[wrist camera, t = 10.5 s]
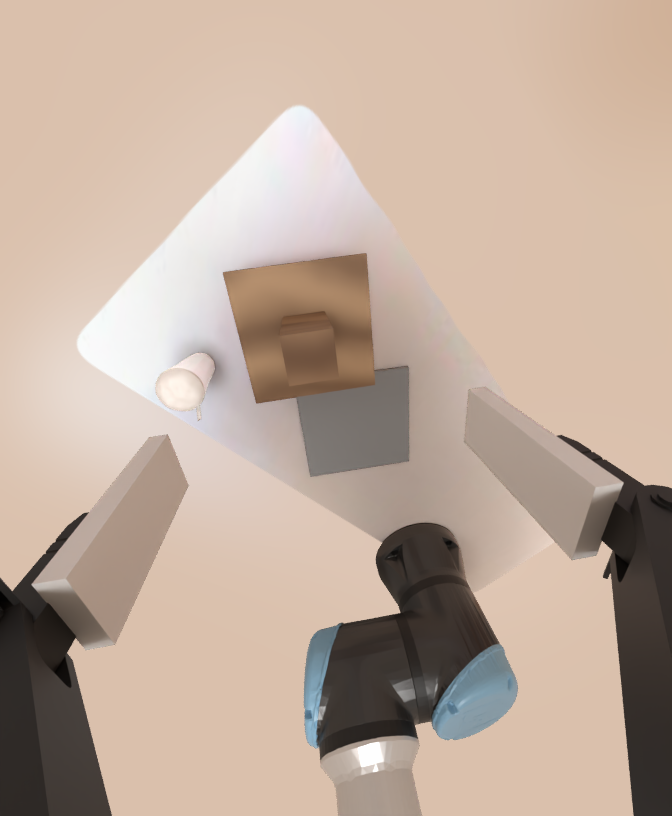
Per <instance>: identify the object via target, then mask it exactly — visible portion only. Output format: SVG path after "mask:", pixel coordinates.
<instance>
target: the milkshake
mask: <svg viewBox="0 0 672 816" xmlns="http://www.w3.org/2000/svg"><path fill="white" fill-rule="evenodd" d="M214 371H215V364H214V360H213V359H212V358H211V357H210V356H209V355H208V354H204V353H200V352H197V353H195V354H193V355H190V356H189V357H187V358H186V359H184V360H183V361H181V362H180V363H178V364H177V365H175V366H173V367H171V368H169V369H168V370H166V371H164V372H163V373H162V374H161V375H160V376H159V377H158V379H157V381H156V387H155V390H156V395H157V397H158V398H159V400H160V401H161V402H162V403H163V404H164V405H165V406H166V407H168V408H169V409H172V410H177V411H190V410H193V409H195V408H196V407H197V418H198V421H199V420H200V419H201V411H200V404H201V403H202V401H203V399H204V396H205V393H206V390H207V388H208V385H209V382H210V380H211V377H212V375H213V373H214Z"/></svg>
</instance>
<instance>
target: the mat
mask: <svg viewBox="0 0 672 816" xmlns="http://www.w3.org/2000/svg"><path fill="white" fill-rule="evenodd" d="M374 373H375V385H372V386H365V387H359V388H352V389H346V390H340V391H333V392H327V393H320V394H314V395H308V396H301V397H297V403H298V408H299V414H300V420H301V425H302V431H303V437H304V442H305V448H306V454H307V459H308V465H309V471H310V476H311V477H312V476H319V475H325V474H331V473H338V472H344V471H350V470H357V469H363V468H369V467H375V466H382V465H388V464H394V463H401V462H407V461H409V367H408V366H404V367H397V368H390V369H383V370H376V371H374Z"/></svg>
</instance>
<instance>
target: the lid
mask: <svg viewBox="0 0 672 816" xmlns="http://www.w3.org/2000/svg"><path fill="white" fill-rule="evenodd" d="M223 276H224V280H225V283H226V287H227V291H228V295H229V299H230V303H231V307H232V311H233V315H234V319H235V322H236V326H237V330H238V334H239V338H240V342H241V346H242V350H243V354H244V357H245V361H246V365H247V369H248V373H249V377H250V381H251V385H252V389H253V392H254V396H255V400H256V403H263V402H269V401H275V400H282V399H288V398H295V397H301V396H308V395H314V394H320V393H327V392H333V391H340V390H346V389H352V388H359V387H365V386H372V385H375V373H374V358H373V343H372V329H371V314H370V299H369V284H368V269H367V254H366V253H363V254H356V255H348V256H341V257H333V258H326V259H318V260H311V261H303V262H296V263H288V264H281V265H273V266H266V267H258V268H251V269H243V270H236V271H228V272H223Z"/></svg>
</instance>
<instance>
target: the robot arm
mask: <svg viewBox="0 0 672 816" xmlns="http://www.w3.org/2000/svg"><path fill="white" fill-rule="evenodd" d="M464 442H465V443H466V444H467V445H468V446H469V447H470V449H471V450H472V451H473V452H474V453H475V454H476V455H477V456H478V457H479V458H480V460H481V461H482V462H483V463H484V464H485V465H486V466H487V467H488V468H489V469H490V471H491V472H492V473H493V474H494V475H495V476H496V477H497V478H498V479H499V480H500V482H501V483H502V484H503V485H504V486H505V487H506V488H507V489H508V490H509V491H510V493H511V494H512V495H513V496H514V497H515V498H516V499H517V500H518V501H519V503H520V504H521V505H522V506H523V507H524V508H525V509H526V510H527V511H528V512H529V514H530V515H531V516H532V517H533V518H534V519H535V520H536V521H537V522H538V523H539V525H540V526H541V527H542V528H543V529H544V530H545V531H546V532H547V533H548V534H549V536H550V537H551V538H552V539H553V540H554V541H555V542H556V543H557V544H558V545H559V546H560V548H561V549H562V550H563V551H564V552H565V553H566V554H567V555H568V556H569V558H571V560H575V559H581V558H586V557H591V556H596V555H597V552H598V550H599V547H600V544H601V542H602V541H603V542H604V543H605V544H606V545H607V546H608V547H609V548H611V549H612V550H613V551H612V554H611V556H610V559H609V561H608V564H607V566H606V569H605V571H604V575H603V578H606V579H608V577H609V574H610V573H611V579H612V589H613V600H614V611H615V621H616V632H617V643H618V653H619V664H620V675H621V685H622V696H623V707H624V717H625V728H626V737H627V749H628V760H629V771H630V781H631V791H632V803H633V813H634V816H672V488H669V487H665V486H657V485H647V486H644V485H643V484H641V483H640V482H638V481H637V480H635V479H634V478H632V477H631V476H629V475H628V474H626V473H625V472H623V471H621V470H620V469H619V468H617V467H616V466H614V465H613V464H611V463H610V462H608V461H607V460H603V459H602V457H600V456H599V455H597V454H596V453H594V452H591V450H590V449H588V448H587V447H585V446H584V445H582V444H581V443H579V442H577V441H575V440H572V439H570V438H567V437H565V436H562V435H559V436H555V435H554V434H553V433H551V432H550V431H548V430H547V429H545V428H544V427H543V426H541V425H540V424H538V423H537V422H535V421H534V420H532V419H531V418H530V417H528V416H527V415H525V414H524V413H522V412H521V411H519V410H518V409H517V408H515V407H514V406H512V405H511V404H509V403H508V402H506V401H505V400H504V399H502V398H501V397H499V396H498V395H496V394H495V393H493V392H492V391H491V390H489V389H488V388H486V387H481V388H474V389H469V392H468V403H467V415H466V427H465V439H464ZM187 488H188V483H187V481H186V478H185V476H184V473H183V471H182V468H181V466H180V463H179V461H178V458H177V456H176V454H175V451H174V449H173V446H172V444H171V441H170V439H169V436H168V435H162V436H154V437H149V438H148V440H147V441H146V442H145V443H144V445H143V446H142V447H141V448H140V450H139V451H138V452H137V454H136V455H135V456H134V457H133V458H132V460H131V461H130V462H129V463H128V465H127V466H126V467H125V468H124V470H123V471H122V472H121V473H120V475H119V476H118V477H117V478H116V480H115V481H114V482H113V483H112V485H111V486H110V487H109V488H108V490H107V491H106V492H105V493H104V494H103V496H102V497H101V498H100V499H99V501H98V502H97V503H96V504H95V506H94V507H93V508H92V510H91V511H90V512H88V513H84V514H82V515H81V516H79V517H78V518H77V519H76V520H74V521H73V522H72V523H71V524H69V525H68V526H67V527H66V528H65V529H64V531H63V532H62V533H61V534H60V535H59V537H58V538H57V539H56V542H55V543H53V544H52V545H51V546H50V547H49V549H48V550H47V551H46V554H44V555H43V556H42V557H41V558H40V559H39V560H38V562H37V563H36V564H35V565H34V566H33V568H32V569H31V570H30V571H29V572H28V573H27V575H26V576H25V577H24V578H23V579H22V581H21V582H20V583H19V584H18V585H17V587H16V588H15V589H14V590H13V591H11V589H10V588H9V587H8V586H7V585H6V584H5V583H4V582H3V580H2V579H1V578H0V816H112V814H111V811H110V806H109V803H108V799H107V795H106V791H105V787H104V783H103V779H102V775H101V771H100V767H99V763H98V759H97V755H96V751H95V747H94V743H93V739H92V736H91V731H90V727H89V724H88V720H87V715H86V711H85V708H84V704H83V700H82V696H81V692H80V688H79V684H78V680H77V676H76V672H75V668H74V664H73V660H72V659H71V658H70V656H69V655H68V654H67V652H68V650H69V648H70V646H71V645H72V643H73V641H74V639H75V638H76V639H77V640H78V641H79V643H80V644H81V645H82V646H83V647H84V648H85V650H90V649H95V648H100V647H106V646H111V645H115V643H116V641H117V639H118V637H119V635H120V633H121V631H122V629H123V626H124V624H125V622H126V620H127V618H128V615H129V613H130V611H131V609H132V607H133V605H134V603H135V600H136V598H137V596H138V594H139V592H140V589H141V587H142V585H143V583H144V581H145V579H146V577H147V574H148V572H149V570H150V568H151V566H152V564H153V561H154V559H155V557H156V555H157V553H158V550H159V548H160V546H161V544H162V542H163V540H164V538H165V535H166V533H167V531H168V529H169V527H170V525H171V522H172V520H173V518H174V516H175V514H176V511H177V509H178V507H179V505H180V503H181V501H182V499H183V497H184V494H185V492H186V490H187ZM376 564H377V569H378V572H379V576H380V578H381V580H382V582H383V583H384V585H385V586H386V588H387V589H388V591H389V592H390V593H391V595H392V596H393V598H394V599H395V601H396V603H397V604H398V606H399V609H400V612H401V613H399V614H393V615H389V616H383V617H378V618H373V619H367V620H362V621H356V622H351V623H345V624H344V623H339V624H338V625H337V626H333V627H329V628H326V629H321V630H319V631H317V632H316V633H315V634H314V636H313V637H312V639H311V641H310V644H309V647H308V652H307V658H306V667H305V681H304V707H305V733H306V738H307V741H308V743H309V745H310V746H313V747H314V748H318V747H319V748H320V763H321V768H322V769H323V770H324V771H325V773H326V774H327V775H328V776H329V778H330V779H331V780H332V781H333V783H334V785H335V787H336V796H337V807H338V816H422V814H421V810H420V805H419V801H418V796H417V791H416V787H415V782H414V778H413V773H412V766H413V763H414V760H415V757H416V754H417V752H418V749H419V740H418V737H417V733H416V728H415V725H416V724H420V723H425V722H432V726H433V729H434V730H435V731H436V733H437V735H438V736H439V737H440V738H442V739H445V740H450V739H453V740H458V739H462V738H466V737H468V736H471V735H474V734H476V733H478V732H480V731H482V730H484V729H485V728H487V727H489V726H491V725H492V724H494V723H495V722H496V721H498V720H499V719H500V718H501V717H502V716H503V715H504V714H506V713H507V712H508V710H509V709H510V708H511V707H512V705H513V703H514V702H515V699H516V697H517V691H518V685H517V680H516V677H515V675H514V673H513V671H512V669H511V667H510V664H509V663H508V660H507V658H506V656H505V652H504V649H503V647H502V646H501V645H500V644H499V641H498V640H497V638H496V636H495V634H494V632H493V630H492V628H491V627H490V625H489V623H488V621H487V619H486V617H485V615H484V613H483V612H482V610H481V608H480V606H479V604H478V602H477V600H476V599H475V597H474V595H473V593H472V591H471V589H470V587H469V585H468V583H467V581H466V577H465V571H464V565H463V560H462V554H461V550H460V547H459V545H458V543H457V541H456V539H455V538H454V536H453V534H452V533H451V532H450V531H449V530H448V529H446V528H444V527H442V526H439V525H436V524H416V525H411V526H408V527H405V528H403V529H400V530H398V531H397V532H395V533H393V534H392V535H391V536H389V537H388V538H387V539H386V540H385V541H384V542H383V543H382V545H381V546H380V548H379V549H378V552H377V555H376Z"/></svg>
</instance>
